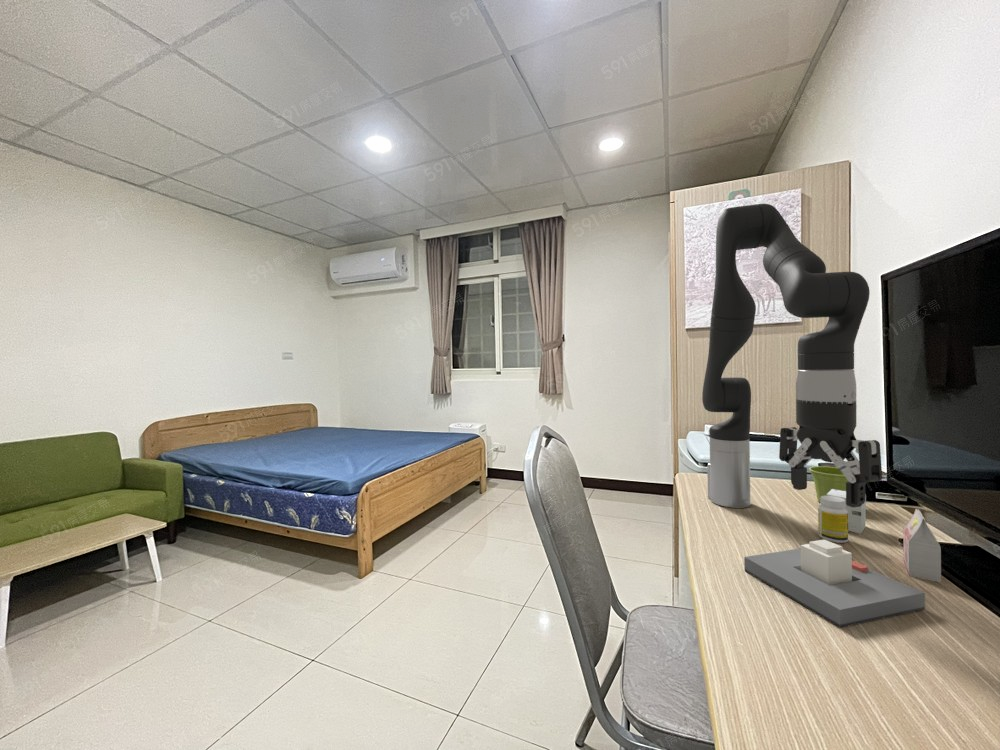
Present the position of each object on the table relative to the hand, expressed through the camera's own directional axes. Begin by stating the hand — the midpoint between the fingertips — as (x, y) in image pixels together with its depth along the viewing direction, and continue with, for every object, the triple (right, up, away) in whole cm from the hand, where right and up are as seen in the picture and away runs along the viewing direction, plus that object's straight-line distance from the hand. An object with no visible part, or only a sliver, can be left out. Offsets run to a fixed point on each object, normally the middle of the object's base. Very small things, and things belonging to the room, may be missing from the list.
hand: (825, 497), depth 64 cm
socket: (0, -15, 0) cm, 15 cm away
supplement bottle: (+17, -15, +18) cm, 29 cm away
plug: (0, -15, 0) cm, 15 cm away
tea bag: (+21, -15, +5) cm, 26 cm away
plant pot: (+34, -14, +39) cm, 53 cm away
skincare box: (+25, -14, +24) cm, 37 cm away
